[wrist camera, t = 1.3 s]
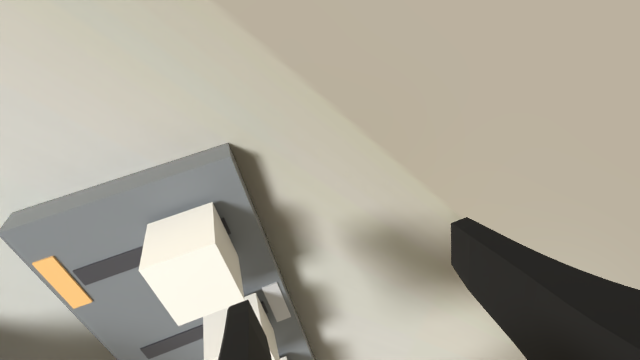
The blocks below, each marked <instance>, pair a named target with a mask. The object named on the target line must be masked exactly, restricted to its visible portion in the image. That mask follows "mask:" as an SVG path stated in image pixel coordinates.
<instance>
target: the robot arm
mask: <svg viewBox="0 0 640 360" xmlns="http://www.w3.org/2000/svg"><path fill="white" fill-rule="evenodd" d="M451 264H452V266H453V268H454V269H455V271H456V272H457V274H458V275H459V277H460V278H461V280H462V281H463V283H464V284H465V286H466V287H467V289H468V290H469V291H470V292H471V294H472V295H473V296H474V297H475V298H476V299H477V301H478V302H479V303H480V304H481V305H482V306H483V308H484V309H485V310H486V311H487V312H488V313H489V315H490V316H491V317H492V318H493V319H494V320H495V322H496V323H497V324H498V325H499V326H500V327H501V329H502V330H503V331H504V332H505V333H506V334H507V335H508V337H509V338H510V339H511V340H512V341H513V342H514V344H515V345H516V346H517V347H518V349H519V350H520V351H521V352H522V354H523V355H524V356H525V357H526V359H527V360H640V290H638V289H634V288H631V287H628V286H624V285H621V284H618V283H615V282H612V281H609V280H606V279H603V278H601V277H598V276H595V275H592V274H589V273H587V272H584V271H581V270H578V269H576V268H573V267H571V266H569V265H566V264H564V263H561V262H559V261H557V260H554V259H552V258H550V257H547V256H545V255H543V254H541V253H538V252H536V251H534V250H532V249H530V248H527V247H526V246H523V245H521V244H519V243H517V242H515V241H513V240H511V239H509V238H507V237H505V236H503V235H501V234H499V233H497V232H495V231H493V230H491V229H489V228H487V227H485V226H483V225H481V224H479V223H477V222H476V221H474V220H472V219H469V218H467V217H466V218H464V219H461V220H458V221H456V222H453V223H451ZM218 360H272V358H271V353H270V349H269V345H268V341H267V337H266V335H265V333H264V331H263V329H262V326H261V324H260V322H259V320H258V318H257V316H256V314H255V312H254V310H253V308H252V306H251V304H250V302H249V300H245V301H243V302H240V303H237V304H235V305H232V306H230V307H229V308H228V310H227V317H226V323H225V329H224V334H223V339H222V344H221V349H220V353H219V357H218Z"/></svg>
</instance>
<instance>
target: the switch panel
mask: <svg viewBox="0 0 640 360" xmlns="http://www.w3.org/2000/svg"><path fill="white" fill-rule="evenodd" d="M211 202H213V204H214V206H215V208H216V211H217V213H218V215H219V217H220V219H221V221H222V223H223V225H224V227H225V229H226V232H227V234H228V236H229V238H230V240H231V242H232V244H233V246H234V248H235V250H236V252H237V255H238V257H239V264H240V271H241V278H242V285H243V292H244V297H245V296H248V295H251V294H253V293H256V294H257V296H258V299H259V301H260V303H261V305H262V307H263V309H264V311H265V313H266V315H267V317H268V320H269V322H270V324H271V326H272V328H273V330H274V334H275V339H276V344H277V349H278V353H279V358H283V357H285V356H286V357H287V359H288V360H315V358H314V356H313V353H312V351H311V348H310V346H309V343H308V341H307V338H306V336H305V333H304V331H303V328H302V326H301V323H300V321H299V318H298V316H297V313H296V311H295V308H294V306H293V303H292V301H291V298H290V296H289V293H288V291H287V288H286V286H285V283H284V281H283V278H282V276H281V273H280V271H279V268H278V266H277V263H276V261H275V258H274V256H273V253H272V251H271V248H270V246H269V243H268V241H267V238H266V236H265V234H264V231H263V229H262V226H261V224H260V221H259V219H258V216H257V214H256V211H255V209H254V206H253V204H252V201H251V199H250V196H249V194H248V191H247V189H246V186H245V184H244V181H243V179H242V176H241V174H240V171H239V169H238V166H237V164H236V161H235V159H234V156H233V154H232V151H231V149H230V146H229V144H228V143H227V144H223V145H220V146H217V147H214V148H211V149H208V150H205V151H202V152H199V153H196V154H193V155H189V156H186V157H183V158H180V159H177V160H174V161H171V162H168V163H165V164H162V165H159V166H156V167H152V168H149V169H146V170H143V171H140V172H137V173H134V174H131V175H128V176H125V177H122V178H118V179H115V180H112V181H109V182H106V183H103V184H100V185H97V186H94V187H91V188H88V189H84V190H81V191H78V192H75V193H72V194H69V195H66V196H63V197H60V198H57V199H54V200H50V201H47V202H44V203H41V204H38V205H35V206H32V207H29V208H26V209H23V210H20V211H16V212H13V213H12V214H11V215H10V216H9V218H8V219H7V220H6V222H5V223H4V224H3V226H2V227H1V228H0V237H1V238H2V239H3V240H4V241H5V242H6V244H7V245H8V246H9V247H10V248H11V249H12V250H13V251H14V252H15V253H16V254H17V255H18V256H19V257H20V258H21V259H22V260H23V261H24V262H25V263H26V265H27V266H28V267H29V268H30V269H31V270H32V271H33V272H34V273H35V274H36V275H37V276H38V277H39V278H40V279H41V280H42V281H43V282H44V283H45V284H46V286H47V287H48V288H49V289H50V290H51V291H52V292H53V293H54V294H55V295H56V296H57V297H58V298H59V299H60V300H61V301H62V302H63V303H64V304H65V305H66V307H67V308H68V309H69V310H70V311H71V312H72V313H73V314H74V315H75V316H76V317H77V318H78V319H79V320H80V321H81V322H82V323H83V324H84V325H85V326H86V328H87V329H88V330H89V331H90V332H91V333H92V334H93V335H94V336H95V337H96V338H97V339H98V340H99V341H100V342H101V343H102V344H103V345H104V346H105V347H106V349H107V350H108V351H109V352H110V353H111V354H112V355H113V356H114V357H115V358H116V359H117V360H204V339H203V317H201V318H199V319H196V320H193V321H191V322H188V323H186V324H183V325H180V326H178V325H177V324H176V322H175V321H174V319H173V318H172V317H171V315H170V314H169V312H168V311H167V310H166V308H165V307H164V305H163V304H162V303H161V301H160V300H159V298H158V297H157V296H156V294H155V293H154V291H153V290H152V289H151V287H150V286H149V284H148V283H147V282H146V280H145V279H144V277H143V276H142V275H141V273H140V272H139V265H140V260H141V255H142V250H143V244H144V239H145V234H146V229H147V224H149V223H152V222H155V221H158V220H161V219H164V218H167V217H170V216H173V215H176V214H179V213H182V212H184V211H187V210H190V209H193V208H196V207H199V206H202V205H205V204H208V203H211Z"/></svg>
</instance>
